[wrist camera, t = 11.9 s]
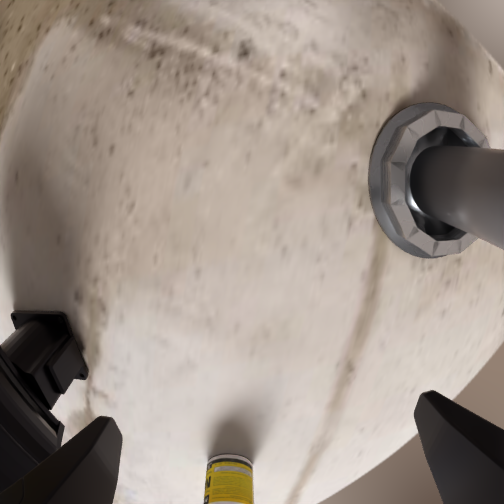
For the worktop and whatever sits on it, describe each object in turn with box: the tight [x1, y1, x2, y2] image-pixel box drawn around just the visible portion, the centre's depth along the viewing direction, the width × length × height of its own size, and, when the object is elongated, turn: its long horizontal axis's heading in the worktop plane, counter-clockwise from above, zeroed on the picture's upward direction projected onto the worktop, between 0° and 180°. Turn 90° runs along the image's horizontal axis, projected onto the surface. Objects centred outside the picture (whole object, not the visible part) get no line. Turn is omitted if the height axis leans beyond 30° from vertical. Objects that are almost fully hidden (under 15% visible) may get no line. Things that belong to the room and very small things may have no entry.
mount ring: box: [368, 103, 491, 258], centre depth 17 cm, size 11×11×2 cm
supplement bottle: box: [204, 454, 254, 504], centre depth 23 cm, size 5×5×8 cm
